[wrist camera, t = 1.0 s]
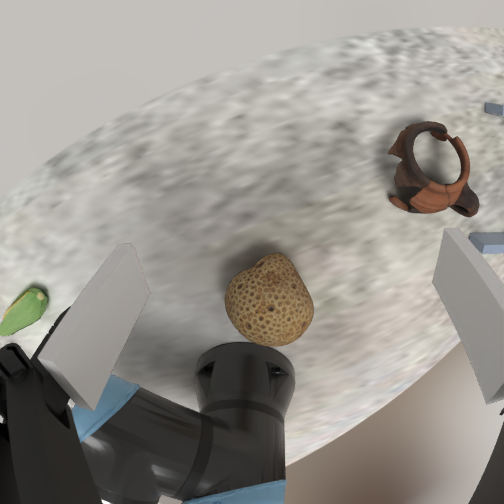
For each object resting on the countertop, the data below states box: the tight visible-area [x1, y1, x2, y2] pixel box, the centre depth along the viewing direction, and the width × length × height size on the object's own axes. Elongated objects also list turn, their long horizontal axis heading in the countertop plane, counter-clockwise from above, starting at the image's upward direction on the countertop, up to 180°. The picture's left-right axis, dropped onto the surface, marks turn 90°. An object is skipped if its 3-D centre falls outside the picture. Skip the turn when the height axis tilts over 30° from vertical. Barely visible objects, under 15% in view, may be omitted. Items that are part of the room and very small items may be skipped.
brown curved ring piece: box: [388, 121, 479, 217], centre depth 27 cm, size 12×10×8 cm
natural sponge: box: [225, 253, 314, 346], centre depth 32 cm, size 9×9×10 cm
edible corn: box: [0, 288, 47, 336], centre depth 41 cm, size 5×20×5 cm
